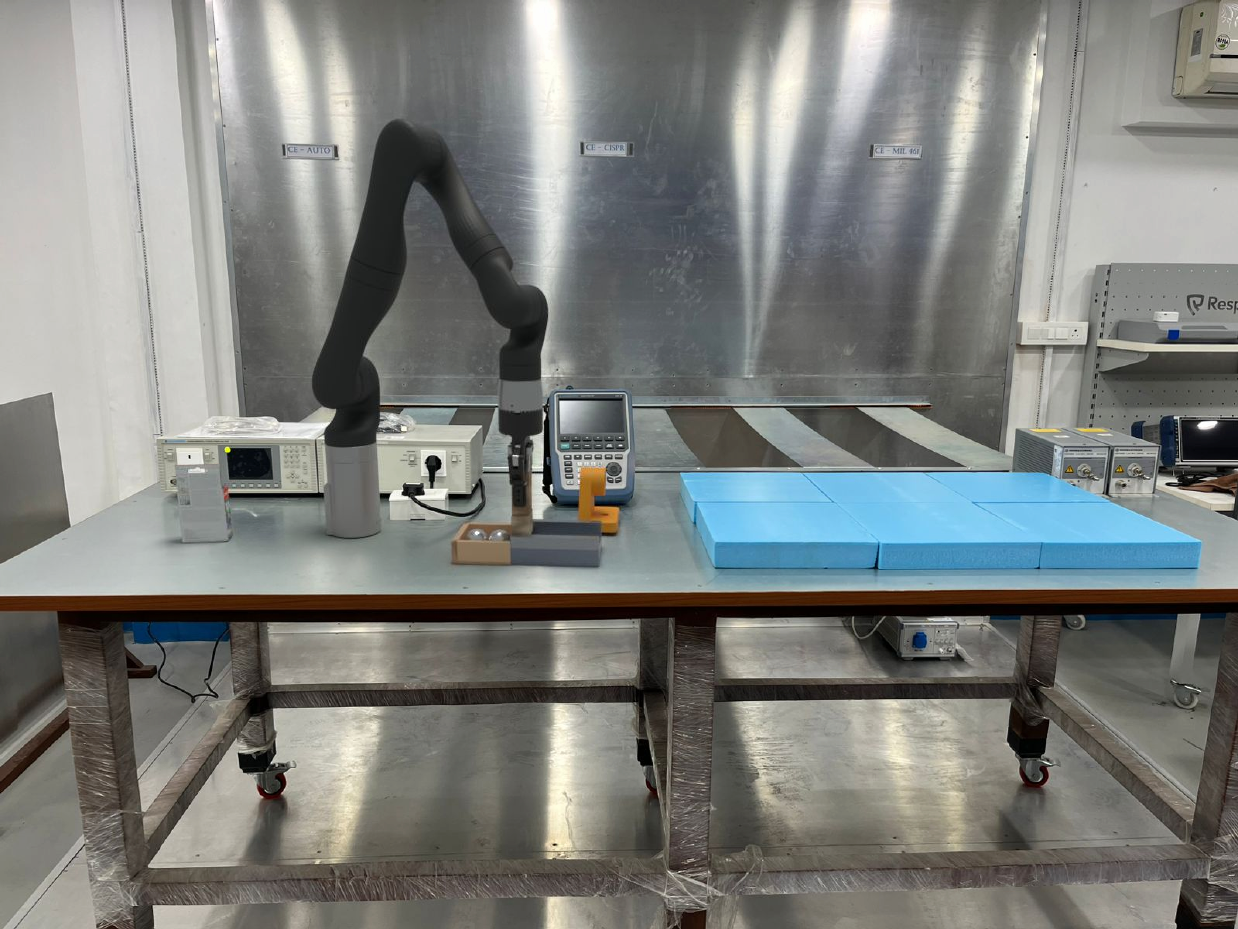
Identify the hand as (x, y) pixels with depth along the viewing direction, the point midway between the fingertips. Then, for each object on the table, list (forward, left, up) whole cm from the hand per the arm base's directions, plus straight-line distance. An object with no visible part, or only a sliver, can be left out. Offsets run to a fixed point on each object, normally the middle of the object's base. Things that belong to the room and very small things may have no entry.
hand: (521, 502), depth 147 cm
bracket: (+13, +17, -10) cm, 23 cm away
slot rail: (+6, 0, -9) cm, 11 cm away
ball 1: (-10, 0, -8) cm, 13 cm away
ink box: (-58, +4, -10) cm, 59 cm away
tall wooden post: (0, 0, -6) cm, 6 cm away
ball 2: (-5, 0, -8) cm, 10 cm away
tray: (-6, 0, -9) cm, 11 cm away
